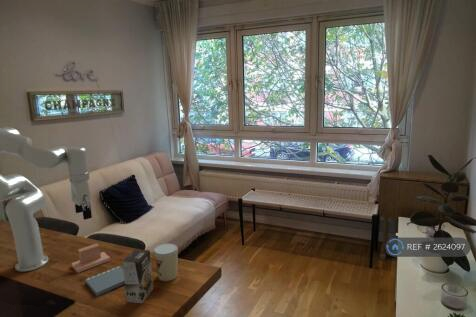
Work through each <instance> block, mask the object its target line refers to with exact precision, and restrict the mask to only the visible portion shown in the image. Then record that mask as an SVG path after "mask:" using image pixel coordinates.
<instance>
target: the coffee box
mask: <svg viewBox="0 0 476 317" xmlns="http://www.w3.org/2000/svg"><path fill="white" fill-rule="evenodd" d="M150 252H151V251H150V250H147V249H134V250H133V251H132V252H131V253H130V254H128V255H127V256H126V257H125V258H124V259H123V260H122V269H123V271H124V279H125V284H124V286H125V295H126V302H127V303H135V304H136V303H137V304H143V303H144V301H146V299H147V298H148V297H149V295H150V294H151V292H152V291H153V289H154V284H153V282H154V281H153V272H152V263H151V262H152V261H151V253H150Z"/></svg>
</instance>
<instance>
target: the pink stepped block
mask: <svg viewBox="0 0 476 317" xmlns="http://www.w3.org/2000/svg"><path fill="white" fill-rule="evenodd" d="M77 250H78V257H79V260H77V261H74V262H71V268H73V270H74V271H75V272H76V273H77V274H78V273H82V272H84V271H87V270H89V269H92V268H94V267H97V266H99V265H102V264H105V263H107V262H108V263H109V262H111V257H110V256H109V255H108V254H107V252H105V251H101V249H100V244H98V243H93V244H91V245H87V246H84V247H82V248H79V249H77Z"/></svg>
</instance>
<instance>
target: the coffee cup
mask: <svg viewBox="0 0 476 317" xmlns="http://www.w3.org/2000/svg"><path fill="white" fill-rule="evenodd" d="M153 255H154V259H155V266H156V271H157V272H156V273H157V276H158V279H159V280H160V281H163V282H167V281H168V282H169V281H172V280H174V279H176V278H177V277H178V271H179V270H178V268H179V265H178V262H179V261H178V260H179V259H178V255H179V254H178V246H177V245H176V244H174V243H168V242H167V243H163V244H159V245H158V246H156V247H155V248H154V250H153Z"/></svg>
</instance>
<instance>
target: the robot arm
mask: <svg viewBox="0 0 476 317" xmlns="http://www.w3.org/2000/svg"><path fill="white" fill-rule="evenodd" d="M5 153H6V154H9V155H12V156H16V157H20V158H21V160H23V161H24V162H25V163H26V164H29V165H30V166H35V167H38V168H40V169H41V168H42V169H49V170H51V169H56V168H57V167H60V166H62V165H65V164H67V170H68V171H67V172H68V178H69V182H70V190H71V191H70V193H71V201H72V202H73V203H74V209H75V213H76V214H79V213H82V218H83V219H82V220H88V219H92V217H93V216H92V207H91V206H92V205H91V202H92V200H91V192H90V186H89V181H90V171H89V164H88V163H89V162H88V152H87V149H86V148H85V147H83V146H67V145H60V146H56V147H52V148H48V149H43V148H40V147H36V146H33V140H32V138H30V137H29V136H25V135H22V134H21V133H20V132H19V130H17V129H16V128H15V127H9V126H5V127H0V155H3V154H5ZM12 198H13V199H12ZM10 199H11V200H10ZM7 200H9V202H8V203H7V204H6V205H5V210H4V211H5V214H6V217H7V219H8V221H9V224H10V226H11V230H12V235H13V240H14V241H13V242H14V245H15V250H16V256H17V260H18V262H17V263H16V264H15V266H14V268H15V271H17V272H21V273H22V272H30V271H34V270H37V269H39V268H42V267H43V266H45V265H47V263H48V262H49V257H48V255H46V254H44V250H43V243H42V239H41V233H40V228H39V227H40V226H39V224H38V221H37V219H36V218H35V217H34V214H35V213H37V212H38V211H40V210H42V209H43V208H44V207H45V205H46V204H47V198H46V195H45V194H44V193H43V192H42V190H40V189H39V187H37V186H36V185H34V183H33V182H31V181H30V180H29V179H28V178H27V177H25V176H24V175H22V174H19V173H11V174H8V175H2V174H1V173H0V202H3V201H7Z"/></svg>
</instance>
